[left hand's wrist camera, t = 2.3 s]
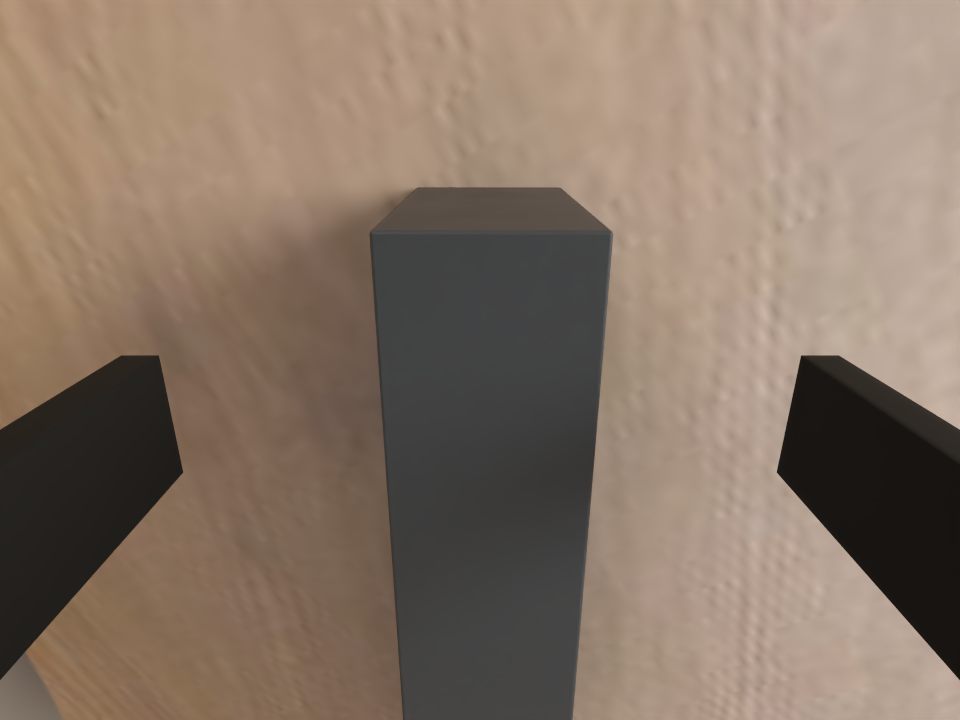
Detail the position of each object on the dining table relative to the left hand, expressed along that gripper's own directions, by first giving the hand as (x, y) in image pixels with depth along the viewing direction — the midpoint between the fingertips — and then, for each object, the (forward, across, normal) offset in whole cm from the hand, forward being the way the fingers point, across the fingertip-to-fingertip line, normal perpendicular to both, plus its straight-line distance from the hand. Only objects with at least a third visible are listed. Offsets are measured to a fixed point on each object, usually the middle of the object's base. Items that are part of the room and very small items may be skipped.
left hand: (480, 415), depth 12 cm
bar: (+8, 0, -9) cm, 12 cm away
